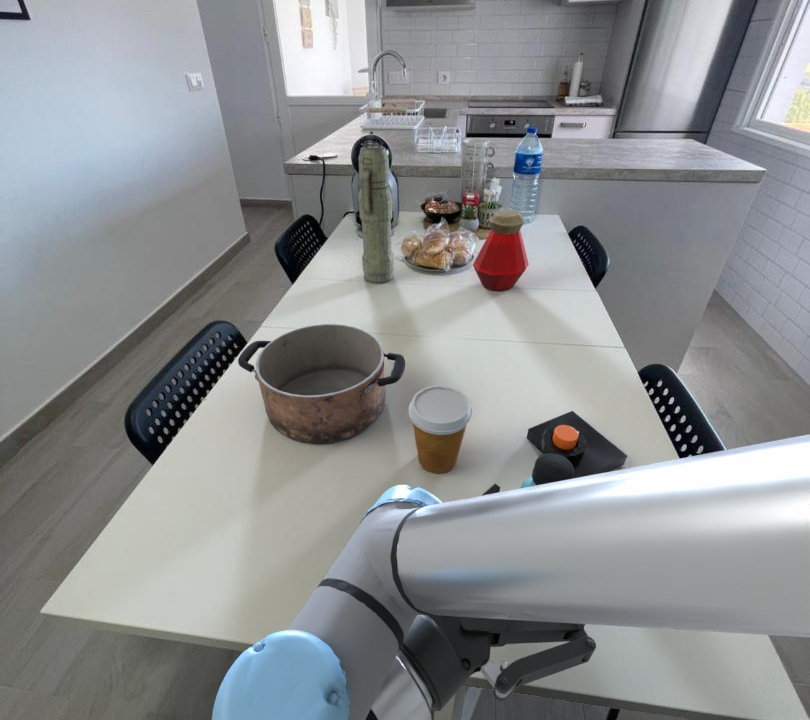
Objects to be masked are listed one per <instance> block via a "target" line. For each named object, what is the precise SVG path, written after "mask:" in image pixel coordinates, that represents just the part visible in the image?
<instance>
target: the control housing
mask: <svg viewBox="0 0 810 720" xmlns="http://www.w3.org/2000/svg"><path fill="white" fill-rule="evenodd" d="M560 425H567V426H571V427H573V428H574V429H575V430H576V431H577V432H578V439H577V443H576V446H575V447H574V448H573V449H571V450H563V449H561V448H558V447H557V446H555V445H554V443H553V441H552V439H553V435H554V431H555V428H556V427H557V426H560ZM526 440H528V441H529V443H531V444H532V445H533V446H534V447H535V449H537V450H538V451H539V452H540V453H541V454H542V455H544V454H557V455H560V456H563V457H565V458H566V459H567V460H569V461H570V462H571V464H572V465H573V468H574V474H573V479H574V478H579V477H584V476H590V475H595V474H600V473H606V472H611V471H616V470H617V469H618V468H621V467H623V466H624V465H625V463H626V461H627V458H628V455H627V454H626V453H625V452H624V451H622V450H621V449H620V448H618V447H617V446H616V445H615V444H614V443H612V442H611V441H610V440H609V439H608V438H607V437H605V436H604V435H603V434H602V433H600V432H599V430H597V429H596V428H594V427H593V426H592V425H591V424H590V423H588V422H587V421H586V420H584V418H582V417H581V416H579V414H578V413H576V412H575V411H574V410H571V411H568V412H566V413H563V414H561V415H559V416H555V417H554V418H551V419H548V420H546V421H544V422H541V423H539V424H536V425H534V426H531V427H529V428H528V429H527V434H526Z"/></svg>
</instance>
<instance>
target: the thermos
mask: <svg viewBox="0 0 810 720" xmlns="http://www.w3.org/2000/svg"><path fill="white" fill-rule="evenodd" d="M389 159H390V158H389V155H388V153H387V149H386V147H385V146H383V145H382V144H376V143H375V144H364V145H363V146H361V147H360V149H359V155H358V174H359V175H358V177H359V181H360V185H359V192H358V193H359V194H358V211H359V220H360V222H361V230H362V231H361V233H362V247H363V253H362V255H361V256H362V257H361V261H362V271H363V279H364V281H365V282H367V283H371V284H375V285H381V284H386V283H389V282H391V281H392V280H393V279H394V270H395V263H394V253H393V250H392V218H393V196H392V193H391V190H390V184H389V180H390V160H389Z"/></svg>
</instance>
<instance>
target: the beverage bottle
mask: <svg viewBox="0 0 810 720" xmlns="http://www.w3.org/2000/svg"><path fill="white" fill-rule="evenodd" d="M573 474H574V468H573V465H572V464H571V462H570V461H569V460H567V459H566V458H565V457H563V456H560V455H557V454H544V455H543V454H542V455H540V456H538V457H537V458H536V460H535V462H534V467H533V469H532V473H531V476H529V477H527V478H526V479H525V480H524V481H523V482H522V483H521V485H520V488H526V487H531V486H536V485H542V484H547V483H552V482H558V481H563V480H568V479H573Z"/></svg>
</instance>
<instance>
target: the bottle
mask: <svg viewBox="0 0 810 720" xmlns="http://www.w3.org/2000/svg"><path fill="white" fill-rule="evenodd" d="M525 222H526V218H525V217H524V216H523V215H522V214H521V213H520V212H519V211H517V210H513V209H503V210H499V211H497V212H495V213H494V214H493V215H491V217H490V218H488V224H489V227H490V232H489V234H488V235H487V237H486V239H485V240H484V242H483V244H482V246H481V249H480V250H479V252H478V254H477V256H476V258H475V259H474V261H473V263H472V266H473V269H474V270H475V272H476V275H477V277H478V280H479V281H480V283H481V285H482V286H483V288H484V289H486V290H489V291H493V292H502V291H509V290H510V289H512V288H514V286H515V285H516V284H517V283H518V281H519V280H520V278H521V277H522V275H523V274H524V273H525V271H526V270H527V268H528V266H529V260H528V255H527V251H526V247H525V244H524V239H523V235H522V231H521V229H522V227H523V226H524V223H525Z"/></svg>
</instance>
